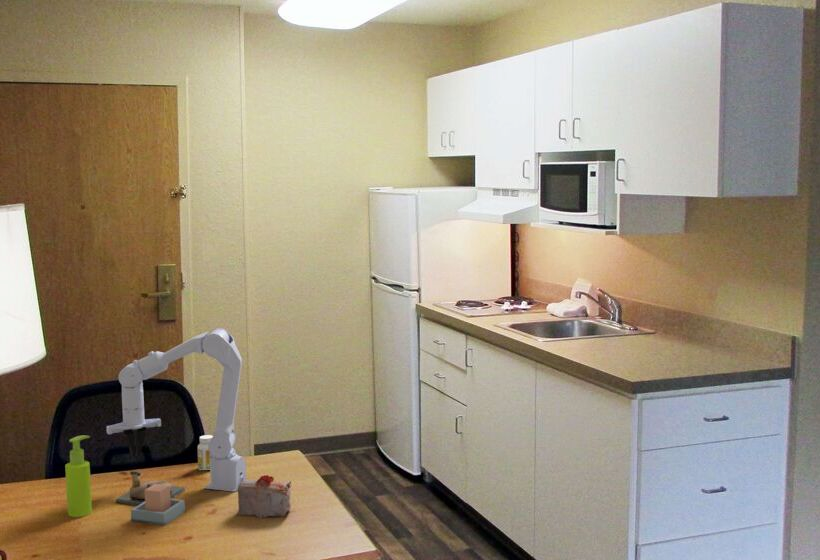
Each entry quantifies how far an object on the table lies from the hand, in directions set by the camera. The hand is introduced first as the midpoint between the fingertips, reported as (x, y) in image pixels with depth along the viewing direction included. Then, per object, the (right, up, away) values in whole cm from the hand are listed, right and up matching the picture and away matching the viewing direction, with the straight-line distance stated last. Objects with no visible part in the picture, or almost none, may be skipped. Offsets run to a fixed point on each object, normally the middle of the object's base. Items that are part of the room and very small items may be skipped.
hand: (135, 455), depth 250 cm
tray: (+12, -12, -20) cm, 26 cm away
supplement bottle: (+16, -8, +17) cm, 25 cm away
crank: (+6, -9, -6) cm, 12 cm away
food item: (+39, -12, -18) cm, 45 cm away
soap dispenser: (-9, -12, -17) cm, 22 cm away
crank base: (+6, -10, -6) cm, 13 cm away
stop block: (+12, -11, -20) cm, 26 cm away
